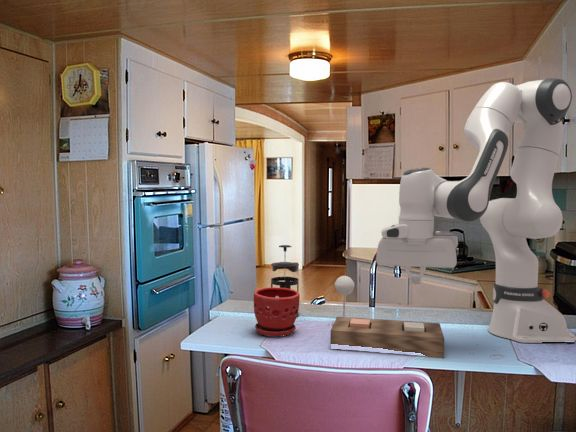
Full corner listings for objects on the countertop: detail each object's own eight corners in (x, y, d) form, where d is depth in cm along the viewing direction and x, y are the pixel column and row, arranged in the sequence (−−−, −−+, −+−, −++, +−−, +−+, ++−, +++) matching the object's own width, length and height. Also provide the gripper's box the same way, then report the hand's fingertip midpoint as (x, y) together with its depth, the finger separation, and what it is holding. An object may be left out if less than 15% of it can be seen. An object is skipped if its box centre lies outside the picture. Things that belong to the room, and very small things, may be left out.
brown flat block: (439, 341, 136) (439, 323, 135) (443, 358, 122) (444, 338, 122) (336, 333, 141) (336, 316, 141) (330, 349, 128) (330, 330, 128)
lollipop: (340, 328, 147) (341, 278, 146) (330, 323, 152) (330, 275, 151) (357, 326, 150) (358, 276, 149) (346, 321, 155) (347, 273, 154)
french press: (296, 320, 156) (297, 247, 154) (267, 319, 157) (267, 246, 156) (301, 311, 167) (302, 243, 166) (274, 310, 169) (274, 242, 167)
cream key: (423, 336, 132) (423, 323, 132) (424, 341, 127) (424, 328, 127) (403, 334, 133) (404, 321, 133) (404, 340, 128) (404, 326, 128)
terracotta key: (369, 332, 135) (370, 319, 135) (368, 337, 130) (369, 324, 130) (351, 330, 136) (351, 318, 136) (349, 336, 131) (349, 323, 131)
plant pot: (245, 336, 138) (246, 294, 138) (264, 324, 151) (264, 285, 150) (290, 342, 134) (290, 298, 133) (305, 329, 146) (305, 288, 145)
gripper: (456, 230, 129) (455, 283, 130) (377, 228, 134) (376, 279, 135) (459, 232, 123) (458, 287, 124) (376, 230, 128) (375, 284, 128)
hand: (415, 283), depth 129 cm, fingers closed
